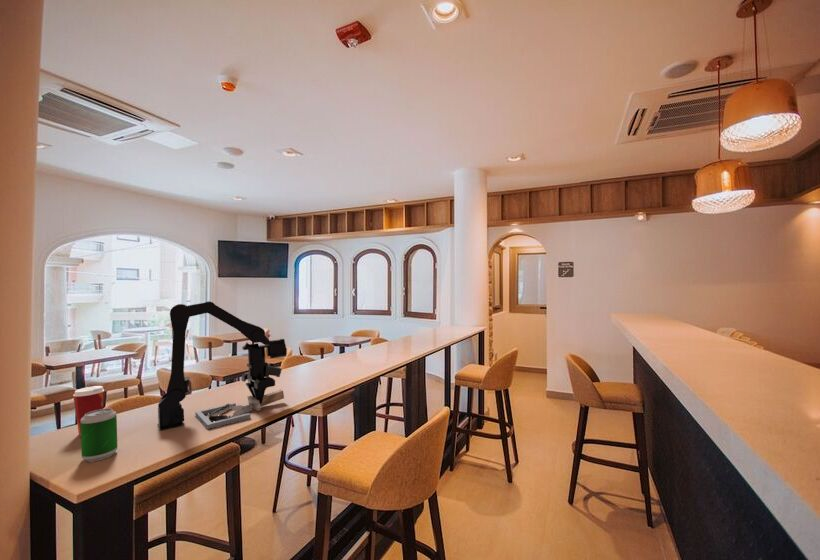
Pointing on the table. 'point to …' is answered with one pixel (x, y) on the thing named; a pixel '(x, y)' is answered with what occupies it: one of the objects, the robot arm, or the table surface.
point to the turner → (266, 399)
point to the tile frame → (210, 424)
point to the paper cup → (87, 402)
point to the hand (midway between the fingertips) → (258, 402)
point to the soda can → (98, 434)
